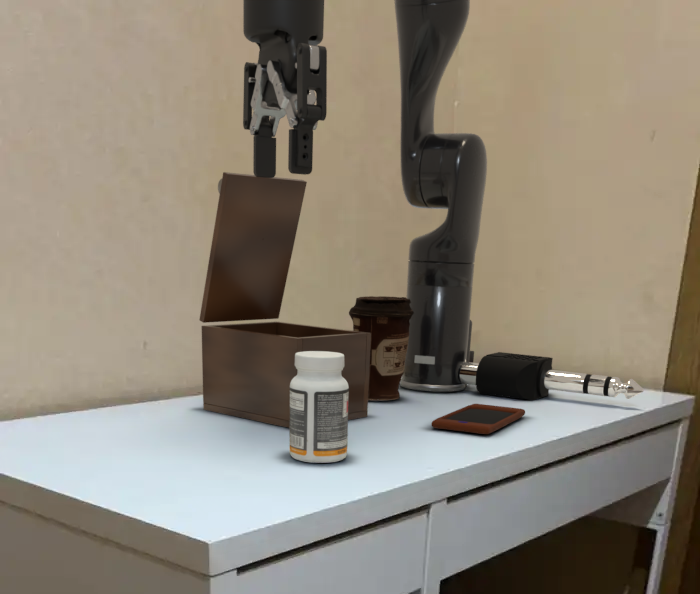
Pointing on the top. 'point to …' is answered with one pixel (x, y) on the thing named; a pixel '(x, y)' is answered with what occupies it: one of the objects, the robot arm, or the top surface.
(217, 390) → the walnut box
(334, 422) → the pill bottle
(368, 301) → the coffee cup
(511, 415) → the smartphone
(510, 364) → the audio adapter
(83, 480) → the top surface
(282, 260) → the lid
